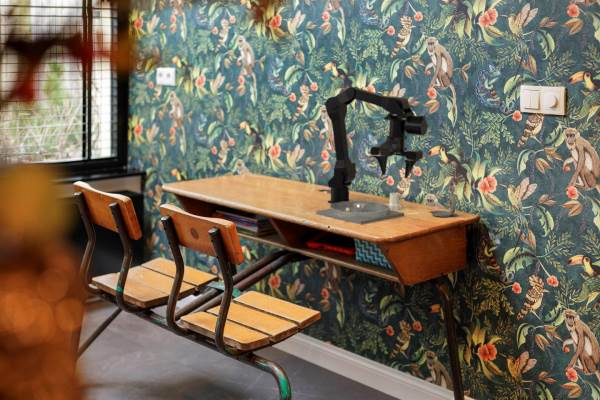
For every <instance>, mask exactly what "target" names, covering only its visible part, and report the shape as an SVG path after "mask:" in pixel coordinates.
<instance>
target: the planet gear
mask: <svg viewBox="0 0 600 400" xmlns="http://www.w3.org/2000/svg"><path fill="white" fill-rule="evenodd" d="M385 204H386V205H388V206H390V210H392V211H399V210H403V205H402V203H400V192H389V202H388V203H385Z"/></svg>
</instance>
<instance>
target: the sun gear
mask: <svg viewBox="0 0 600 400" xmlns="http://www.w3.org/2000/svg"><path fill="white" fill-rule="evenodd" d="M353 212H367V204H366V203H361V202H359V203H353Z"/></svg>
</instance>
